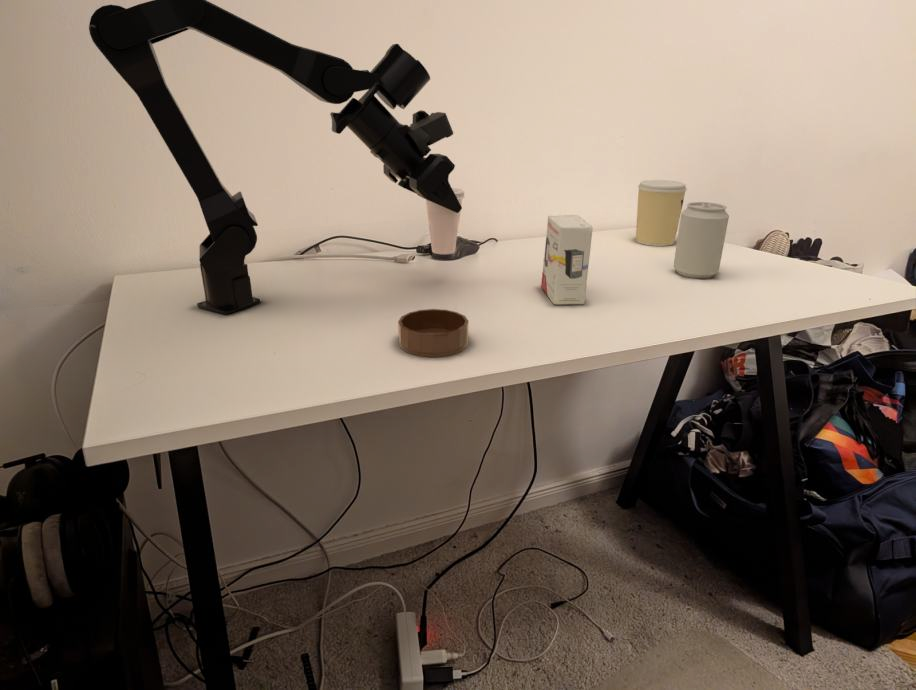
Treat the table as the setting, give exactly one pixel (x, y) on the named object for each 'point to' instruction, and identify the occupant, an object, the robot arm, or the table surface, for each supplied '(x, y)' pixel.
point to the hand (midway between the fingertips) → (452, 206)
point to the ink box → (566, 259)
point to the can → (701, 239)
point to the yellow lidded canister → (659, 211)
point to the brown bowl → (433, 332)
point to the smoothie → (443, 225)
